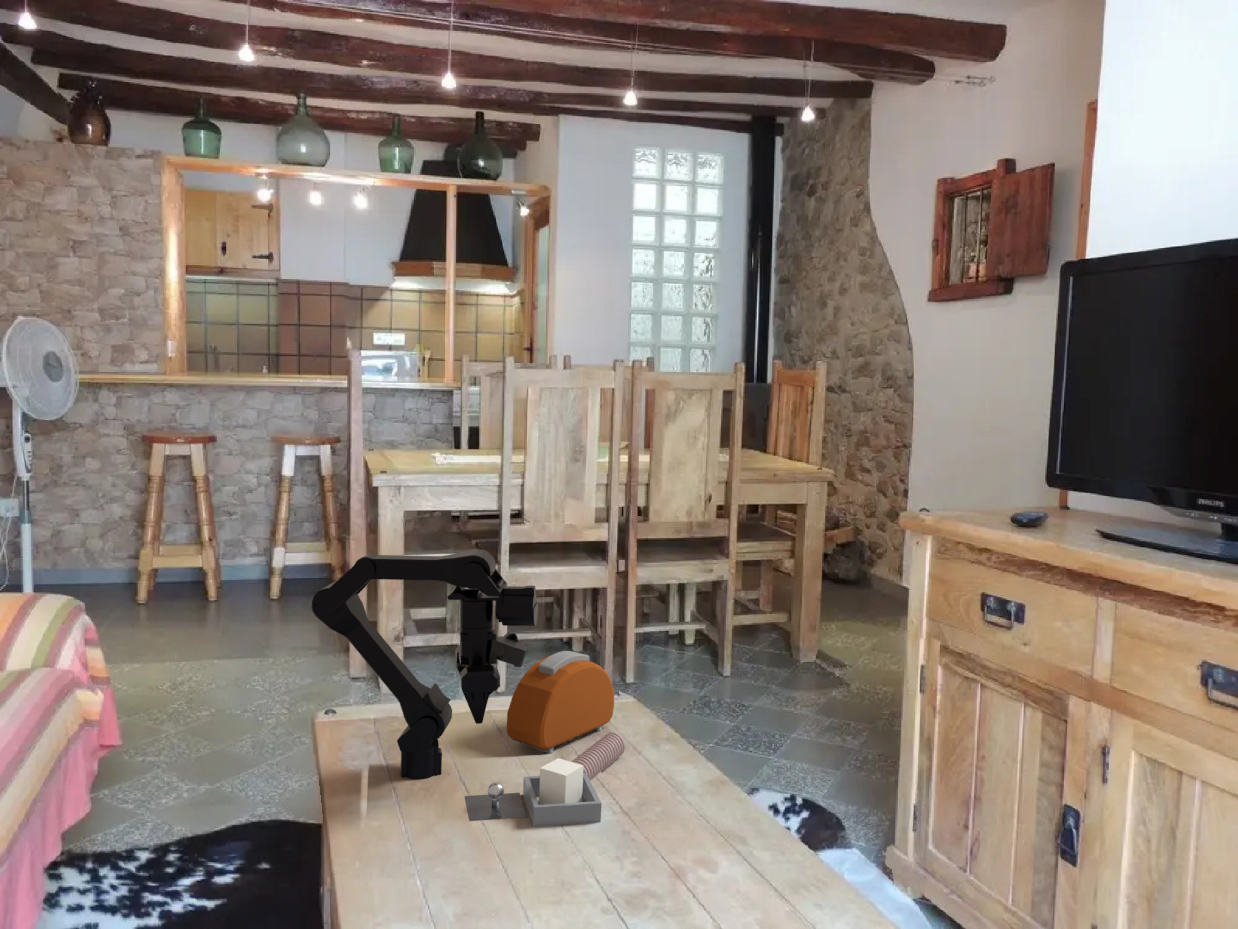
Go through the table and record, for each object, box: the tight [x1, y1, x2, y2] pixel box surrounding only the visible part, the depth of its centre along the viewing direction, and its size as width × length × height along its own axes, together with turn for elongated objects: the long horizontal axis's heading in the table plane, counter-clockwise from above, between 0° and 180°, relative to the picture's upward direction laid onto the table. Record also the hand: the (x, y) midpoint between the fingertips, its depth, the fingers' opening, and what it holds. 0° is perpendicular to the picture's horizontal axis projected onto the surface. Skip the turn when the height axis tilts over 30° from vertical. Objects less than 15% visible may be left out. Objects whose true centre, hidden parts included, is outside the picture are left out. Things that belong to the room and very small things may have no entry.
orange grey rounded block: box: [506, 650, 615, 754], centre depth 186 cm, size 23×9×17 cm, turn 144°
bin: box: [522, 773, 602, 827], centre depth 153 cm, size 11×12×4 cm
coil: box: [571, 731, 626, 782], centre depth 171 cm, size 5×5×18 cm
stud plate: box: [464, 781, 528, 822], centre depth 152 cm, size 9×9×5 cm
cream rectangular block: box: [538, 757, 584, 805], centre depth 152 cm, size 5×5×7 cm
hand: (476, 714), depth 163 cm, fingers open, 9 cm apart
